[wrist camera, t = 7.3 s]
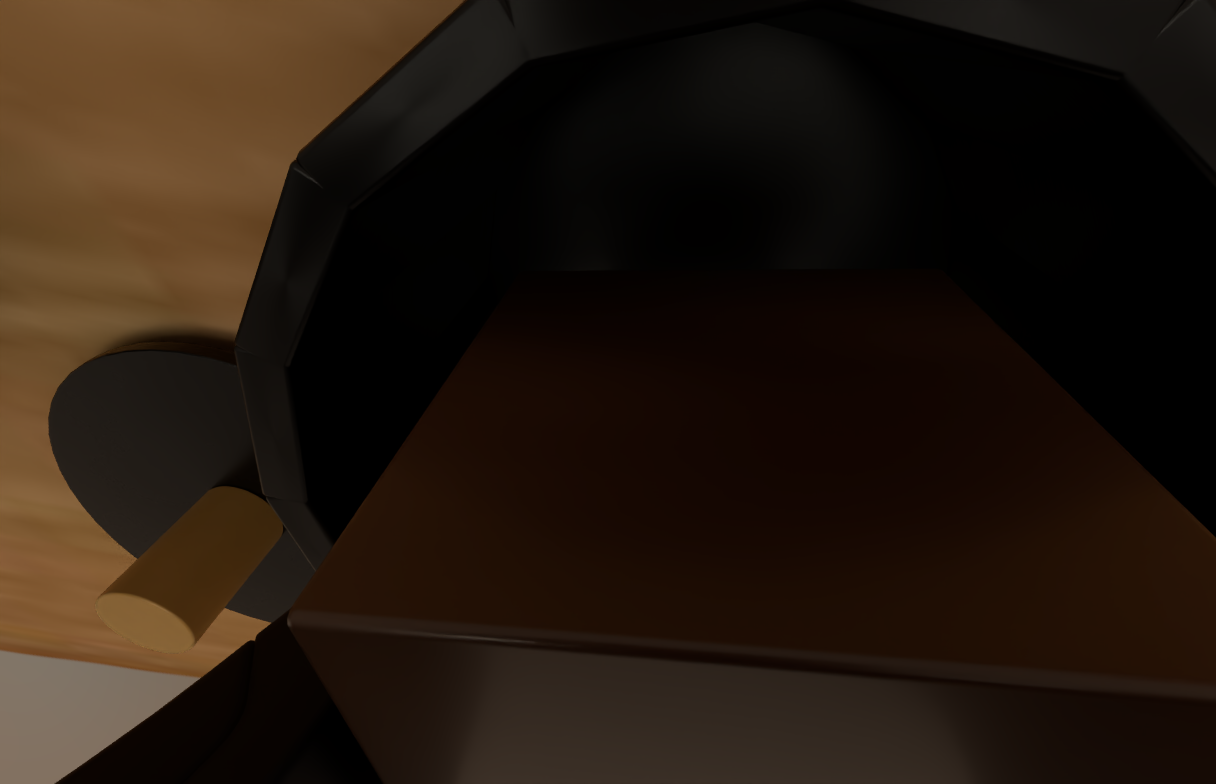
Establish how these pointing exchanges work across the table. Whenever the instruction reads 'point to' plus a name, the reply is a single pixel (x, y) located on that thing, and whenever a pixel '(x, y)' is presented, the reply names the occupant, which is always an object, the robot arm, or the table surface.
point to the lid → (174, 491)
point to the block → (764, 553)
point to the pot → (749, 201)
